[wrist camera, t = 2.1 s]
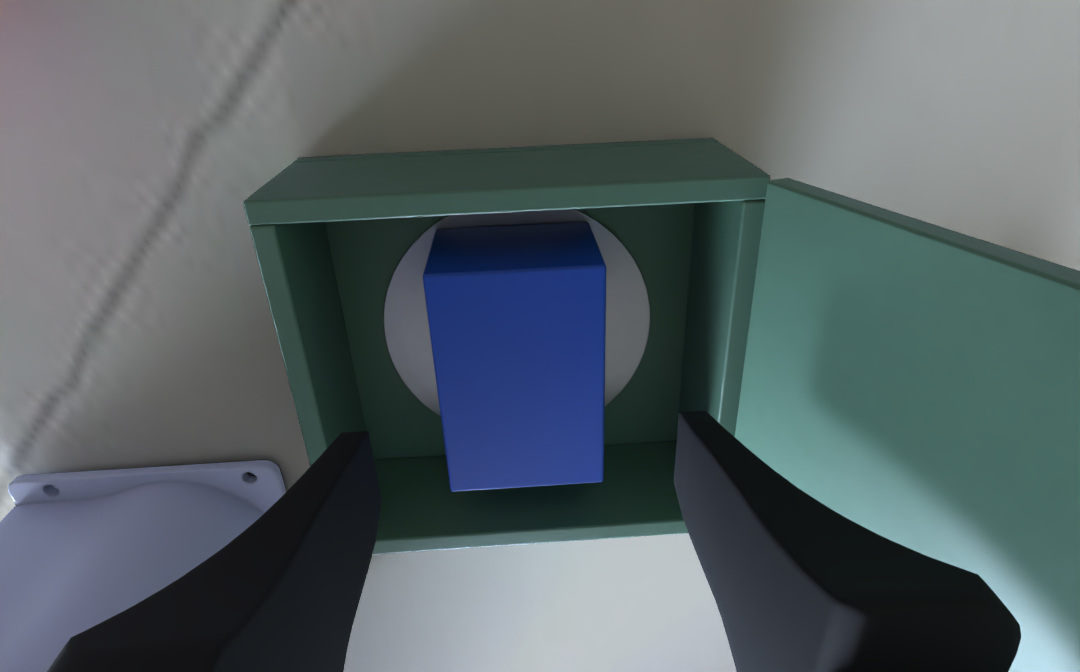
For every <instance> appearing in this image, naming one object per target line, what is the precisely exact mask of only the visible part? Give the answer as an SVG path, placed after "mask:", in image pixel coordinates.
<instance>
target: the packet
mask: <svg viewBox="0 0 1080 672" xmlns="http://www.w3.org/2000/svg"><path fill="white" fill-rule="evenodd" d="M423 284H424V292H425V300H426V307H427V315H428V323H429V330H430V338H431V346H432V353H433V361H434V369H435V376H436V384H437V391H438V399H439V407H440V414H441V422H442V430H443V437H444V445H445V453H446V460H447V468H448V476H449V483H450V489H451V491H453V492H456V491H472V490H487V489H503V488H518V487H534V486H549V485H564V484H580V483H595V482H602V481H603V479H604V414H605V339H606V264H605V262H604V259H603V257H602V254H601V252H600V249H599V247H598V244H597V242H596V239H595V237H594V234H593V232H592V229H591V227H590V224H589V223H588V222H574V223H555V224H536V225H516V226H497V227H478V228H458V229H439V230H436V231H435V234H434V238H433V241H432V245H431V248H430V252H429V256H428V259H427V263H426V266H425V270H424V273H423Z"/></svg>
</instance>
